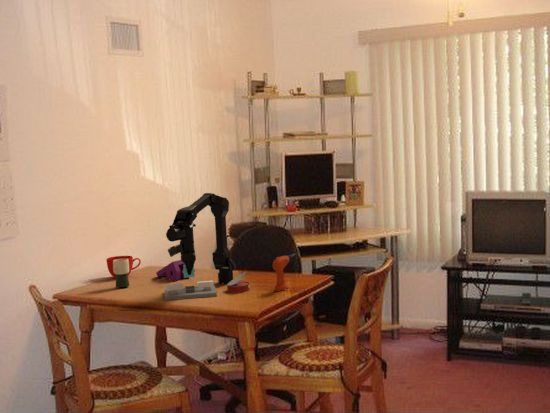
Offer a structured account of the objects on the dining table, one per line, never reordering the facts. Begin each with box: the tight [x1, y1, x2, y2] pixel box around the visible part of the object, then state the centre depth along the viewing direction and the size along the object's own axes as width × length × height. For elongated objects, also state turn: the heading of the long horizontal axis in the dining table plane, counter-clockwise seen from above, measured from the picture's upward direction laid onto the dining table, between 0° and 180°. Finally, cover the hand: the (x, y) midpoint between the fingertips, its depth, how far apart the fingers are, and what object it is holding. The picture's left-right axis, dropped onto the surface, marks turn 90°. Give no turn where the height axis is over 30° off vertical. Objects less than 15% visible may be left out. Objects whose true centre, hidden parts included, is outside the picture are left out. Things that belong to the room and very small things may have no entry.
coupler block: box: [183, 265, 196, 279], centre depth 311 cm, size 5×4×5 cm
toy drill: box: [272, 252, 296, 292], centre depth 316 cm, size 5×19×15 cm, turn 149°
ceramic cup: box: [106, 255, 142, 279], centre depth 363 cm, size 13×17×10 cm
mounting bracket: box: [156, 259, 188, 282], centre depth 353 cm, size 10×8×18 cm
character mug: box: [113, 259, 130, 289], centre depth 335 cm, size 11×7×13 cm, turn 153°
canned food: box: [226, 270, 251, 294], centre depth 315 cm, size 11×10×10 cm
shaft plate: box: [163, 280, 218, 301], centre depth 312 cm, size 22×16×5 cm
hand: (189, 274), depth 311 cm, fingers closed on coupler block, 4 cm apart
